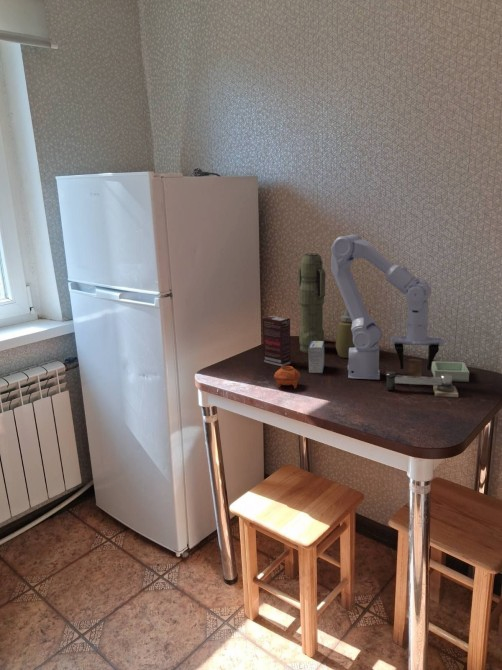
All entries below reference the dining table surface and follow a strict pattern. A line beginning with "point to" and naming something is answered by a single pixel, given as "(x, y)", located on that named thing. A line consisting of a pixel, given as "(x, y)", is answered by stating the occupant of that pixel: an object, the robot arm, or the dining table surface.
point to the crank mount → (445, 391)
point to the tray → (451, 370)
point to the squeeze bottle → (344, 335)
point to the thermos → (311, 300)
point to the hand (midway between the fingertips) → (415, 368)
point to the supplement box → (276, 340)
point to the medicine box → (316, 357)
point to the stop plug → (414, 368)
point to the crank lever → (417, 380)
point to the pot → (287, 376)
